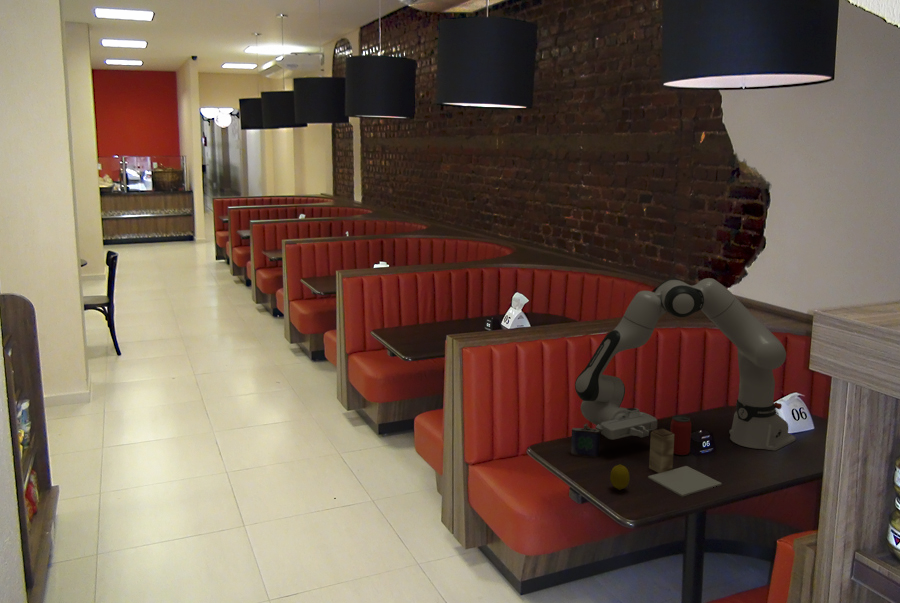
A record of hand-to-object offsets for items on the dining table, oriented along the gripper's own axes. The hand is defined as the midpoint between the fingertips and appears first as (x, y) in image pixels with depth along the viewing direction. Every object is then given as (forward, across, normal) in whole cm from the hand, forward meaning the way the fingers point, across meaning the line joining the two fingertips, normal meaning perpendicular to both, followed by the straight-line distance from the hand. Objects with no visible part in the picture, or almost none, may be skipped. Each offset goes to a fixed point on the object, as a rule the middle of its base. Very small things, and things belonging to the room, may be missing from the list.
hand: (645, 434), depth 229 cm
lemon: (+12, -21, +9) cm, 26 cm away
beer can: (0, +15, +9) cm, 18 cm away
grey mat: (+17, 0, +9) cm, 20 cm away
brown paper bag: (+7, 0, +9) cm, 12 cm away
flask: (-12, -14, +9) cm, 21 cm away
